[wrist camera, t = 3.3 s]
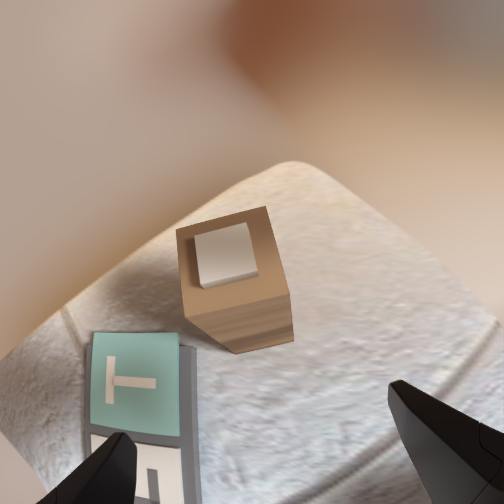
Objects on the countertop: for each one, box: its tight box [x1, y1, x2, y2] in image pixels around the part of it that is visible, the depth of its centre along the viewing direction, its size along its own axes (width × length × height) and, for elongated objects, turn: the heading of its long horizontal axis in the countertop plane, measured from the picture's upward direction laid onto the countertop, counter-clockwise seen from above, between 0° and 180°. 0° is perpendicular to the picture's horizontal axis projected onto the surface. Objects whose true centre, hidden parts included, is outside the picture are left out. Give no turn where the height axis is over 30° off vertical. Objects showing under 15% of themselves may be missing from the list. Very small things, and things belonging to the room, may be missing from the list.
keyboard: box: [84, 332, 202, 504], centre depth 17 cm, size 26×10×2 cm, turn 2°
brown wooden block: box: [176, 206, 294, 354], centre depth 18 cm, size 4×4×12 cm
